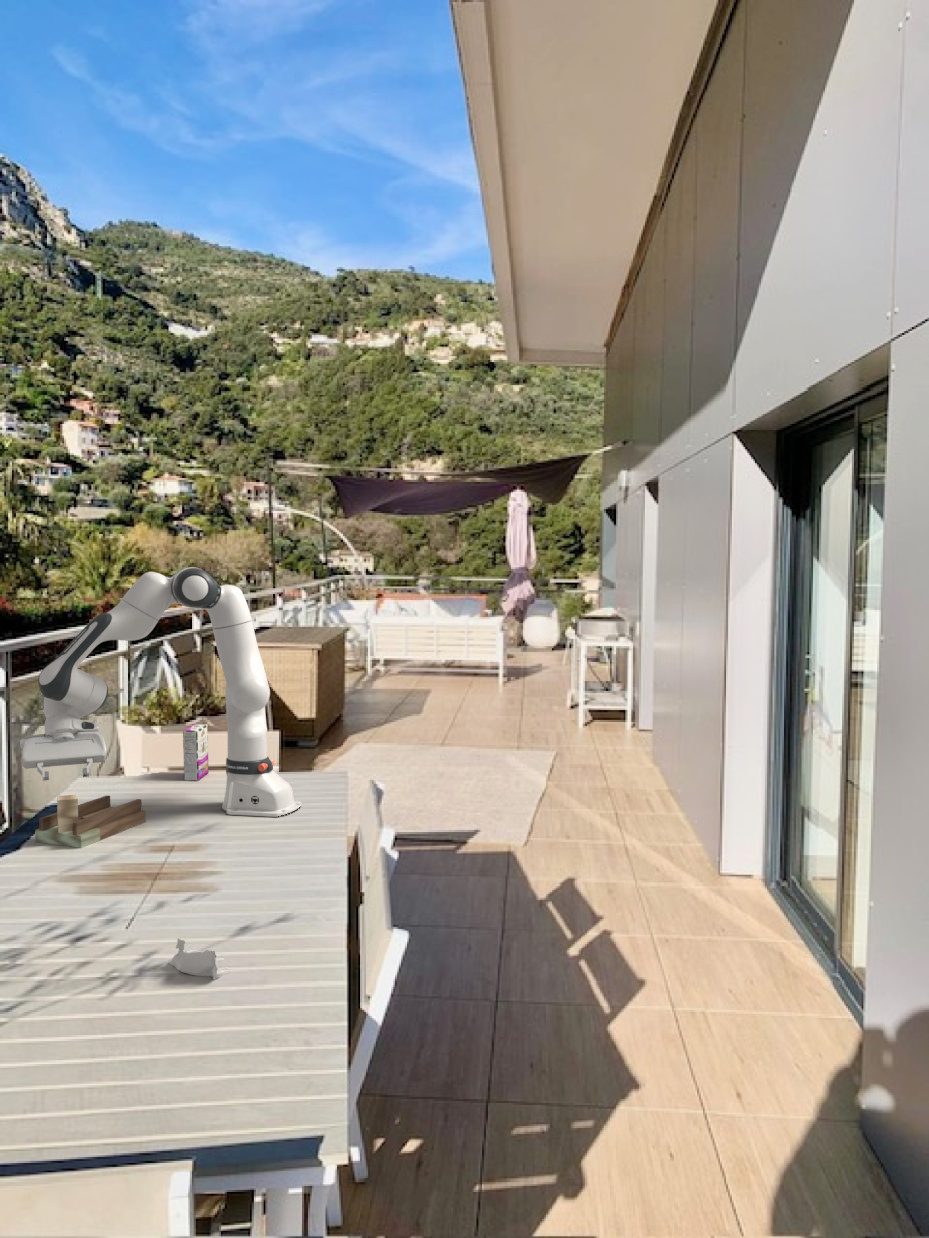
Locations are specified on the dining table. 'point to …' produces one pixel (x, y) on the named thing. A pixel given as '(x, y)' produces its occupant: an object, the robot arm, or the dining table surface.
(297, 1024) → the dining table surface
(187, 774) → the candy bar box
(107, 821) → the channel deck
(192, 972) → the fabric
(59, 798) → the beech block
